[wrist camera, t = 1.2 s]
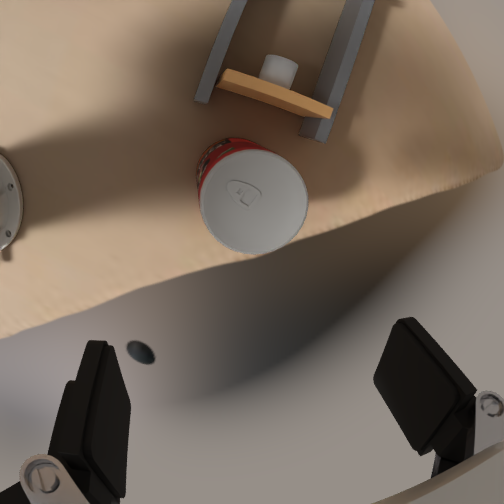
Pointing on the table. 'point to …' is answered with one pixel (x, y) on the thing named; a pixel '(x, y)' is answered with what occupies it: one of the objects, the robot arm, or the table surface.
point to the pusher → (274, 87)
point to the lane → (332, 71)
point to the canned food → (250, 196)
